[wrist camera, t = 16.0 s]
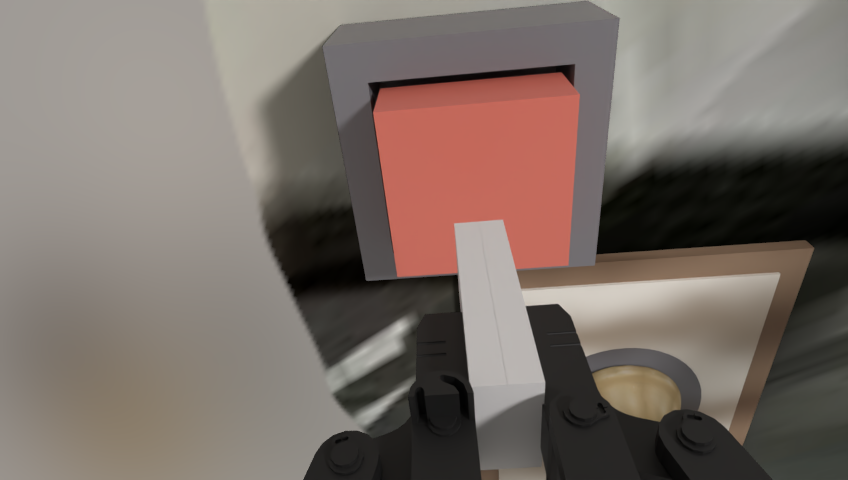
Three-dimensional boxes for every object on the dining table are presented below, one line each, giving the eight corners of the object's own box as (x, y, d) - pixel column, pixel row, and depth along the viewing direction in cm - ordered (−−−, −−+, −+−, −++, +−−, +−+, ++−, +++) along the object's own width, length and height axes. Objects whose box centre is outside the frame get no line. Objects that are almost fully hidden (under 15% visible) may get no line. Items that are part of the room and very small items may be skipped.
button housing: (340, 25, 23) (322, 46, 20) (588, 0, 23) (619, 18, 19) (374, 233, 29) (366, 280, 25) (573, 218, 29) (594, 265, 25)
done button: (380, 88, 21) (373, 112, 18) (561, 72, 20) (579, 94, 18) (400, 239, 25) (397, 277, 22) (554, 228, 24) (568, 265, 22)
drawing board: (465, 263, 30) (467, 274, 29) (805, 240, 29) (817, 250, 28) (480, 502, 43) (481, 515, 42) (717, 492, 42) (723, 505, 41)
